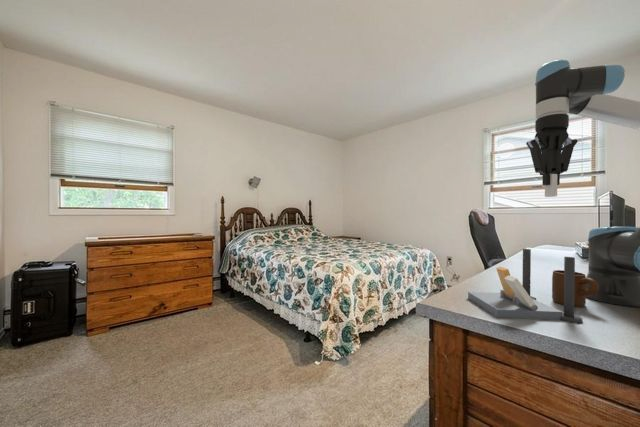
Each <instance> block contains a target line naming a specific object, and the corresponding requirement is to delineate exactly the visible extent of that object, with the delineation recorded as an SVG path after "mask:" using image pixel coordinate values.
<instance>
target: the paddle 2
mask: <svg viewBox="0 0 640 427" xmlns="http://www.w3.org/2000/svg"><path fill="white" fill-rule="evenodd" d="M504 279H505V280H506V282H507V283H508V285H509V286H510V287H511V289H512V290H513V292H514V293H515V294H516V296H517V297H518V299H519V300H520V301H521V303H522V305H523V306H525V307H527V308H529V309H531V310H533V311H536V310H537V309H538V307H537V305H535V303H534V302H533V300H532V299H531V297H530V296H531V295H530V296H529V295H528V293H527V292H526V290H525V289H524V288H523V286H522V282H520V281H519V279H518V278H517V277H514V276H511V275H510V276H509V275H508V276H506V277H505V278H504Z"/></svg>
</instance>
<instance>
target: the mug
mask: <svg viewBox="0 0 640 427" xmlns="http://www.w3.org/2000/svg"><path fill="white" fill-rule="evenodd" d="M586 277H587V275H586V274H585V273H582V272H578V271H575V298H574V308H583V307H585V306H586V301H587V300H586V299H587V297H586V295H587V296H592V295H595V294H596V293H597V292H598V289H599V286H598V283H597V282H596V281H595V280H593V279H591V278H586ZM587 283H589V284H590V285H591V287H590V289H589V290H587V289H586V284H587ZM551 287H552V288H551V293H552V294H551V298H552V301H553V302H554V303H556V304H558V305H559V304H560V305H562V306H564V269H563V270H560V269H559V270H558V269H557V270H555V269H554V270H553V271H552V276H551Z"/></svg>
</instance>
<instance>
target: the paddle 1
mask: <svg viewBox="0 0 640 427" xmlns="http://www.w3.org/2000/svg"><path fill="white" fill-rule="evenodd" d="M496 271H497V275H498V277H499V281H500V283H501V286H502V290H504V293H505V296H506V297H507V298H509V299H511V300H513V295H516V294H515V293H514V292H513V290H512V289H511V287H510V286H509V285H508V283H507V282H506V280H505V279H504V278H505V277H506V276H508V275H509V276H511V273H510V271H509V268H506V267H503V266H499V267H496Z"/></svg>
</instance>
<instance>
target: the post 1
mask: <svg viewBox="0 0 640 427" xmlns="http://www.w3.org/2000/svg"><path fill="white" fill-rule="evenodd" d="M531 252H532V250H531V248H522V282H521V285H522V286H523V288H524V289H525V290H526V292H527V293H528V295H529V296H530V297H531V298H532V299H534V300H536V301H537V298H536V297H534V296H531V266H532V265H531V264H532V263H531V261H532V258H531V257H532V256H531V255H532V253H531Z"/></svg>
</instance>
